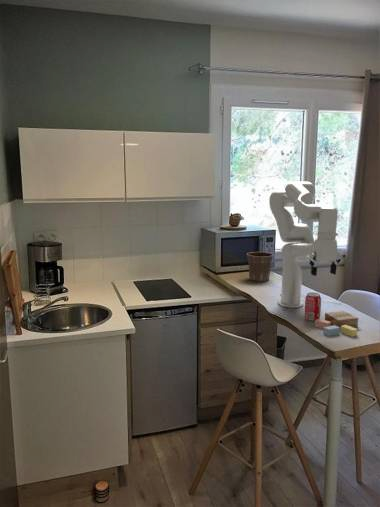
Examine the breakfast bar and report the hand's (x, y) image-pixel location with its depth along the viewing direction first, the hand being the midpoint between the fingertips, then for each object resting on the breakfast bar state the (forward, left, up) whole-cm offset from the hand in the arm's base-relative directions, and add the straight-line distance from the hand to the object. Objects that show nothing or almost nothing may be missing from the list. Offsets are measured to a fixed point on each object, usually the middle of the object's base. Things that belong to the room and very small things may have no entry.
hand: (323, 274), depth 195 cm
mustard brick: (+14, +4, -23) cm, 27 cm away
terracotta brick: (+4, -2, -23) cm, 23 cm away
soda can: (-6, -1, -23) cm, 23 cm away
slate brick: (+12, -3, -23) cm, 26 cm away
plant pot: (-80, +8, -23) cm, 83 cm away
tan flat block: (+3, +8, -23) cm, 24 cm away
